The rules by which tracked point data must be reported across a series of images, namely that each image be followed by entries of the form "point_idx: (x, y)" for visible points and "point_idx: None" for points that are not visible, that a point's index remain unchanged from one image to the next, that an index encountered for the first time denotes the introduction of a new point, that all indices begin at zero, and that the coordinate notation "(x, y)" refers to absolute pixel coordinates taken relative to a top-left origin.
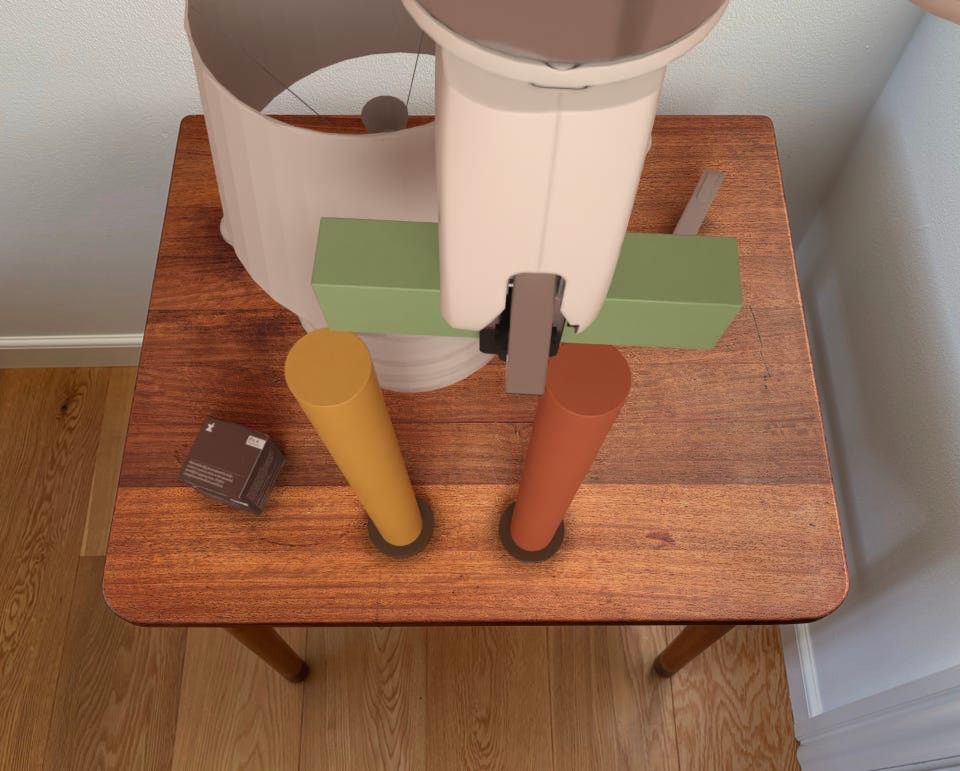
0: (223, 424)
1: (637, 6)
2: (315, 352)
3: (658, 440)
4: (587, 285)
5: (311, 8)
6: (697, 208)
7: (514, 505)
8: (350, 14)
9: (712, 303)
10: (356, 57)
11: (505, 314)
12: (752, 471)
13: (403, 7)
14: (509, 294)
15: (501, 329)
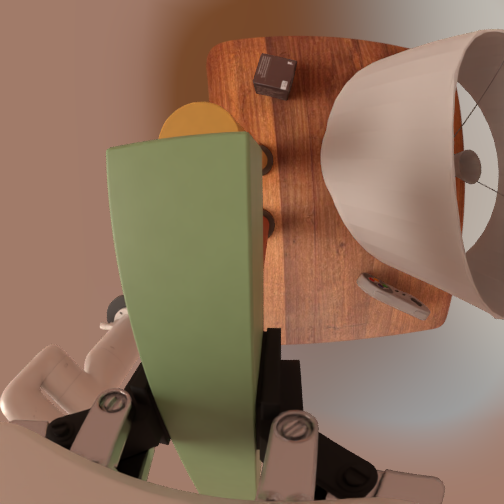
0: (292, 68)
1: None
2: (209, 127)
3: (305, 283)
4: None
5: None
6: (411, 310)
7: (269, 216)
8: None
9: (198, 491)
10: (495, 146)
11: (70, 446)
12: (291, 320)
13: None
14: (136, 427)
15: (53, 438)
